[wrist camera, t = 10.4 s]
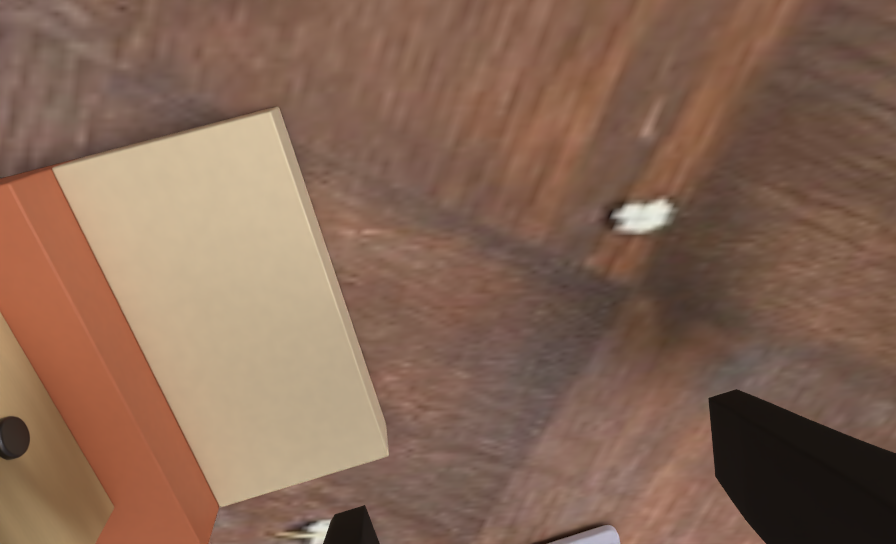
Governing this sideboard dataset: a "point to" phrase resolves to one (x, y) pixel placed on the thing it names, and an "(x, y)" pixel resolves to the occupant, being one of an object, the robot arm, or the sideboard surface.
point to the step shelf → (187, 323)
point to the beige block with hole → (41, 463)
